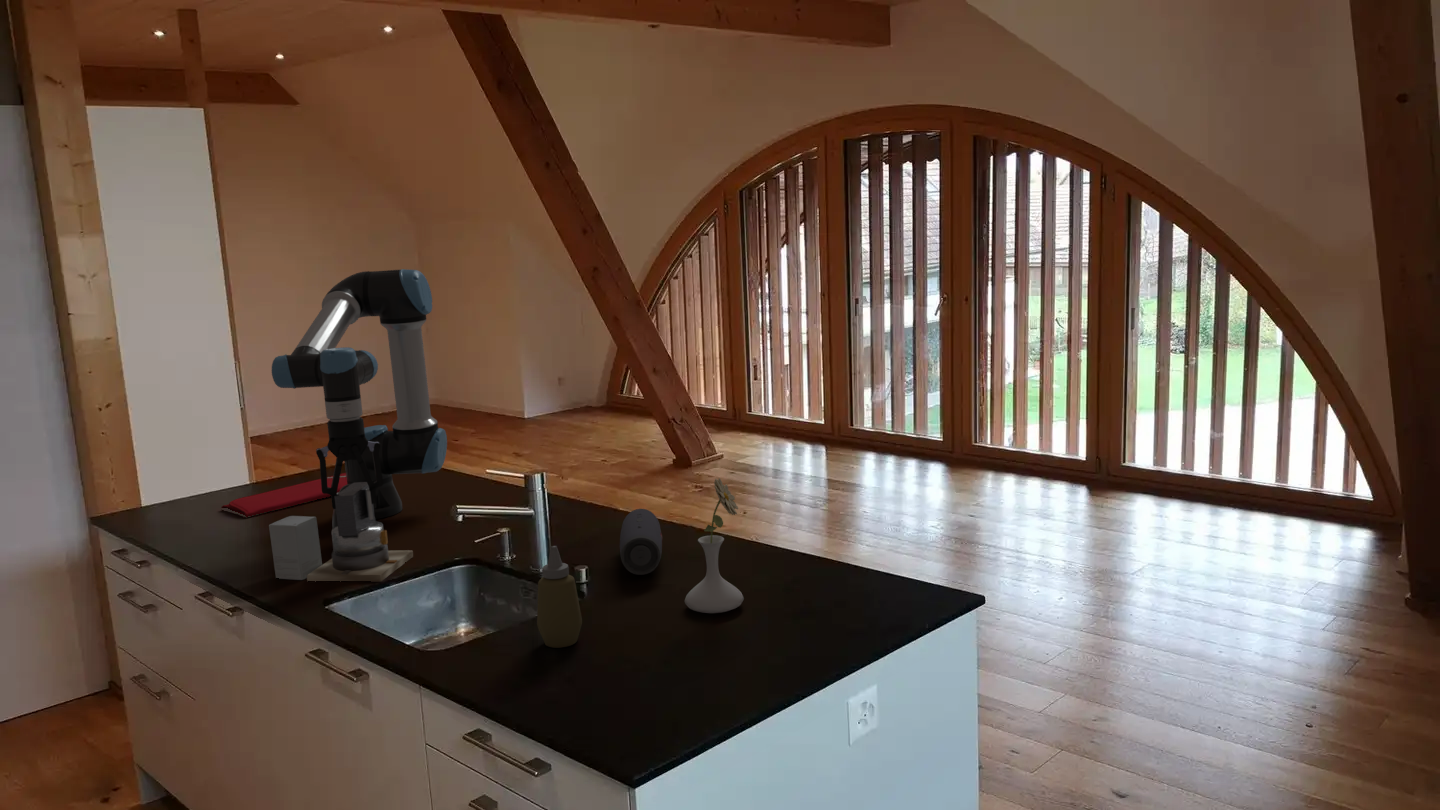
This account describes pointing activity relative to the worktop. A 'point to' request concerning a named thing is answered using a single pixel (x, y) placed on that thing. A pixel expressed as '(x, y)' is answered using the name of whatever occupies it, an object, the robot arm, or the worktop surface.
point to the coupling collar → (356, 524)
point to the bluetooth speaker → (640, 542)
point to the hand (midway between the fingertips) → (356, 520)
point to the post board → (362, 574)
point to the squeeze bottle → (558, 604)
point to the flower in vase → (715, 566)
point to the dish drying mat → (283, 497)
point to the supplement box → (295, 547)
